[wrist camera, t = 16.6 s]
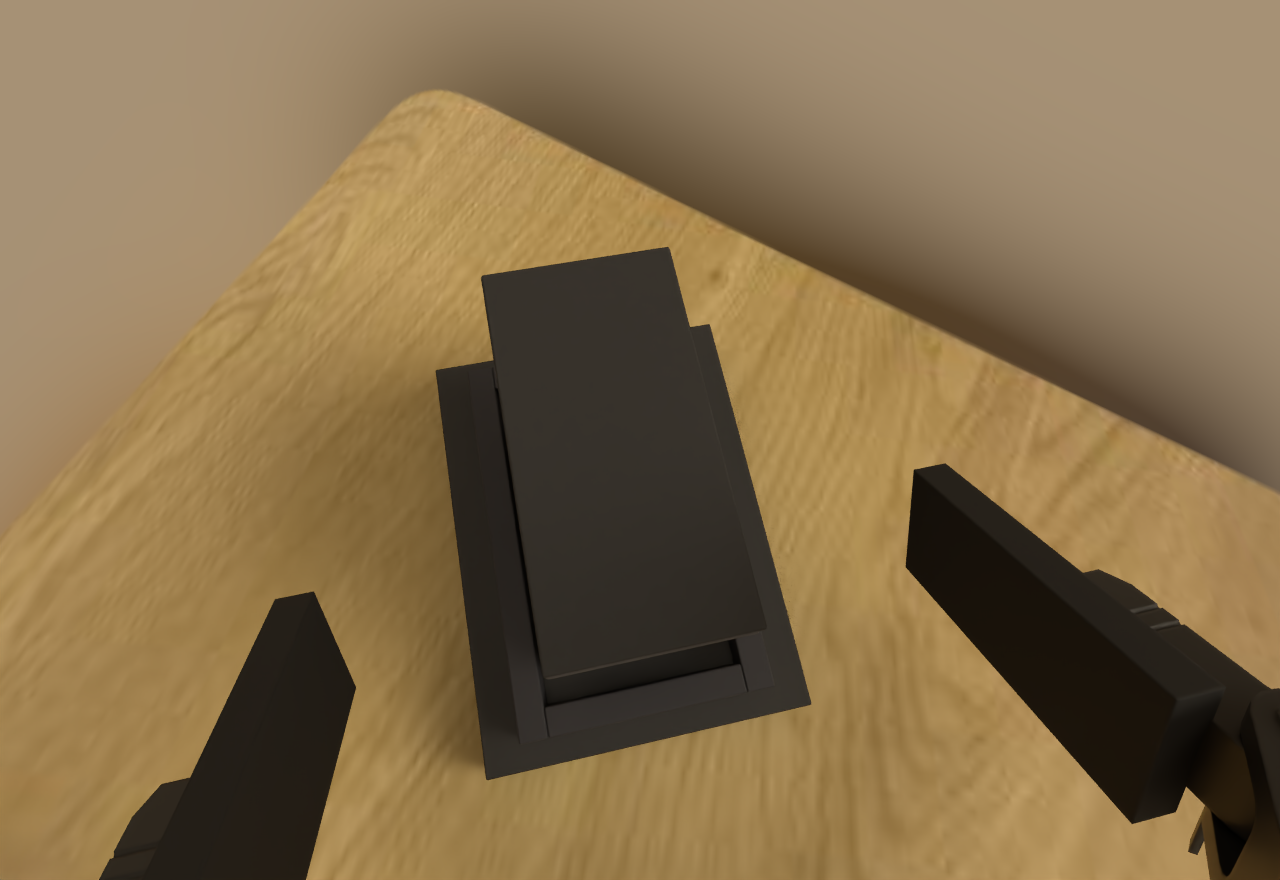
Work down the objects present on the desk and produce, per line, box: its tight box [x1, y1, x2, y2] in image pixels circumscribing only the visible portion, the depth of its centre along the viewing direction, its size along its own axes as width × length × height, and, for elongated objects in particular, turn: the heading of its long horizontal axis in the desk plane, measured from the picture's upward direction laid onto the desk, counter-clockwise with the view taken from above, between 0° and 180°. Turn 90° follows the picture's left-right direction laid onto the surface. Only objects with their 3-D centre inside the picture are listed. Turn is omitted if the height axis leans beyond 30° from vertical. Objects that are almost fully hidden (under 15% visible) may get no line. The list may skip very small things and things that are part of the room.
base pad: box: [436, 324, 811, 780], centre depth 26 cm, size 12×16×4 cm
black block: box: [481, 247, 767, 679], centre depth 21 cm, size 5×10×11 cm, turn 12°
